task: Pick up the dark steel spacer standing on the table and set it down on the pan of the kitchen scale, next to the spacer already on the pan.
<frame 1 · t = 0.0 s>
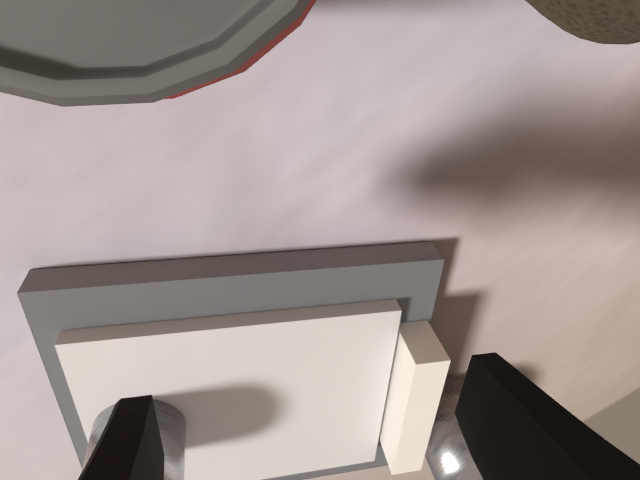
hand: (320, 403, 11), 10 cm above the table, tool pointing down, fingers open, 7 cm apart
scale: (252, 375, 24), on the table
spacer a: (140, 428, 21), point 2 cm above the table, touching scale
spacer b: (436, 398, 28), on the table
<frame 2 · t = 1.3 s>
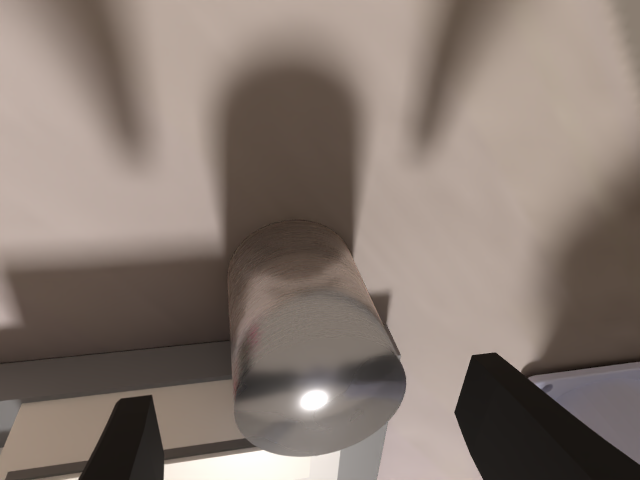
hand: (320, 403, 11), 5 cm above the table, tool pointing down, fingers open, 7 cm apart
spacer b: (291, 274, 15), on the table
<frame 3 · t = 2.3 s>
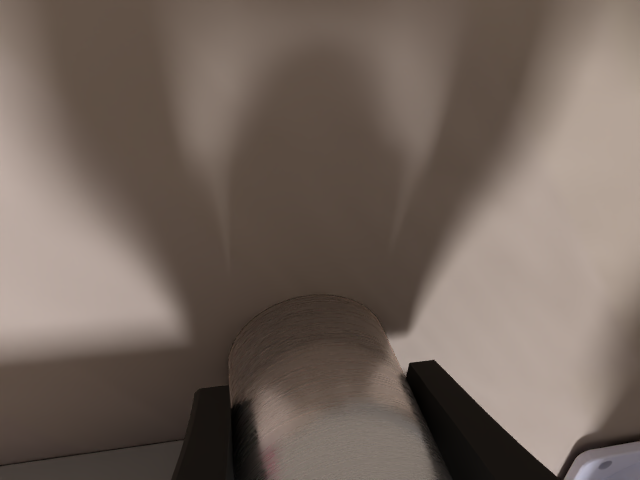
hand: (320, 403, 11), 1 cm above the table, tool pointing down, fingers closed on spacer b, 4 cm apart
spacer b: (309, 357, 12), on the table, touching gripper
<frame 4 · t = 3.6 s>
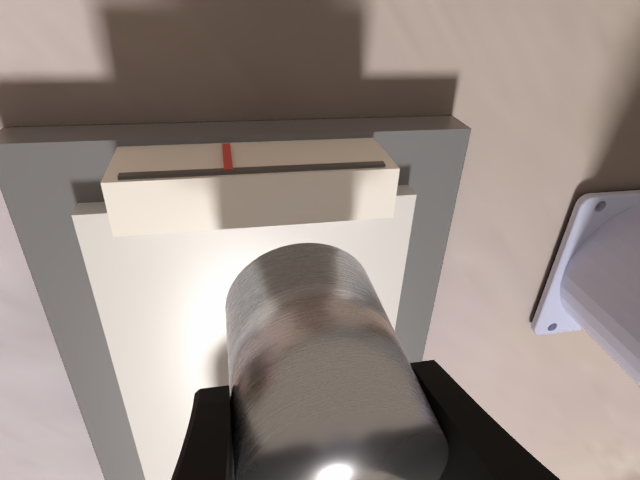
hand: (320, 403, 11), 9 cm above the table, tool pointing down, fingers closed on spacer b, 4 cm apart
scale: (256, 312, 20), on the table
spacer b: (300, 304, 13), point 6 cm above the table, touching gripper
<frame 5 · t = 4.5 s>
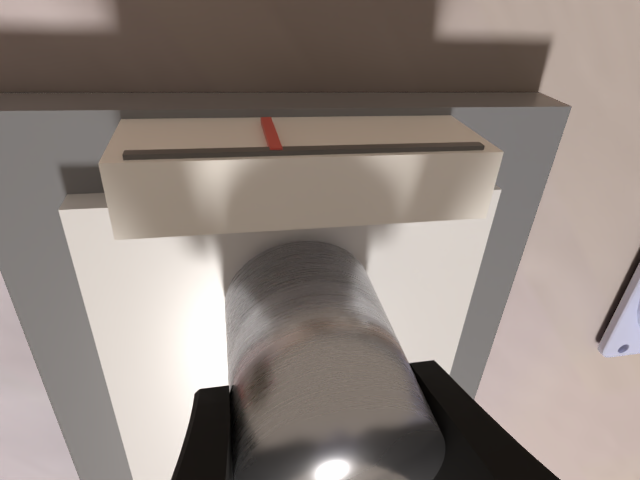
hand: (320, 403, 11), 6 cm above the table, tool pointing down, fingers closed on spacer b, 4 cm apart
scale: (285, 331, 17), on the table
spacer b: (299, 301, 13), point 3 cm above the table, touching gripper
when the fingers open (5 cm above the table, at t = 5.0 s): spacer b stays where it is, resting on scale.
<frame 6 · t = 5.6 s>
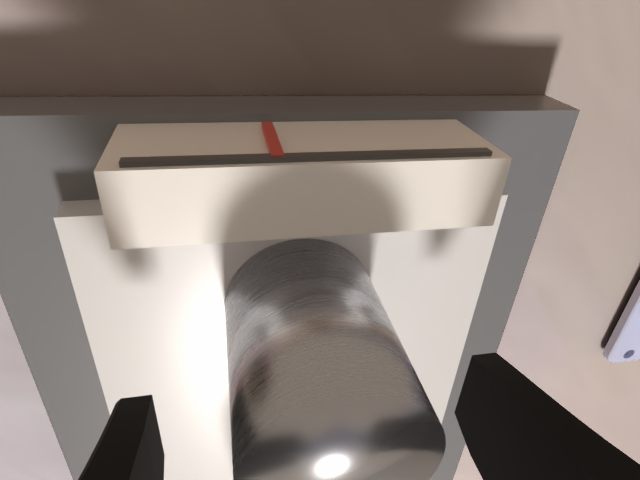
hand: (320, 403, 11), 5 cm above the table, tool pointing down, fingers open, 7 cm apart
scale: (286, 338, 16), on the table
spacer b: (299, 300, 13), point 2 cm above the table, touching scale
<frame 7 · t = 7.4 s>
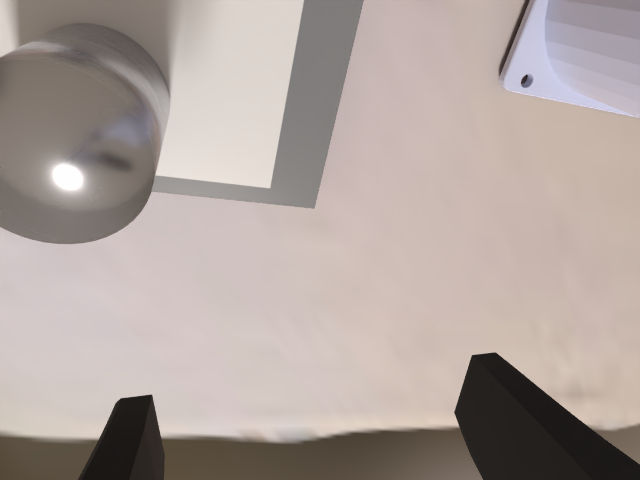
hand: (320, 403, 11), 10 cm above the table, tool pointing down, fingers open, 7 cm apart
spacer a: (99, 97, 14), point 2 cm above the table, touching scale
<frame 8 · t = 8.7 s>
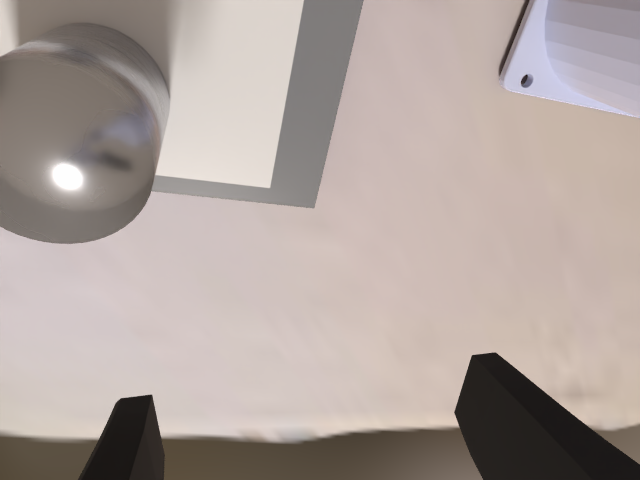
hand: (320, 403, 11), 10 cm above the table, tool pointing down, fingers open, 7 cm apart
spacer a: (99, 96, 14), point 2 cm above the table, touching scale
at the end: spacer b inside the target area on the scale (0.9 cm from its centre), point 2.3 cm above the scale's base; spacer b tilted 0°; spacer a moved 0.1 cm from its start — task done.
